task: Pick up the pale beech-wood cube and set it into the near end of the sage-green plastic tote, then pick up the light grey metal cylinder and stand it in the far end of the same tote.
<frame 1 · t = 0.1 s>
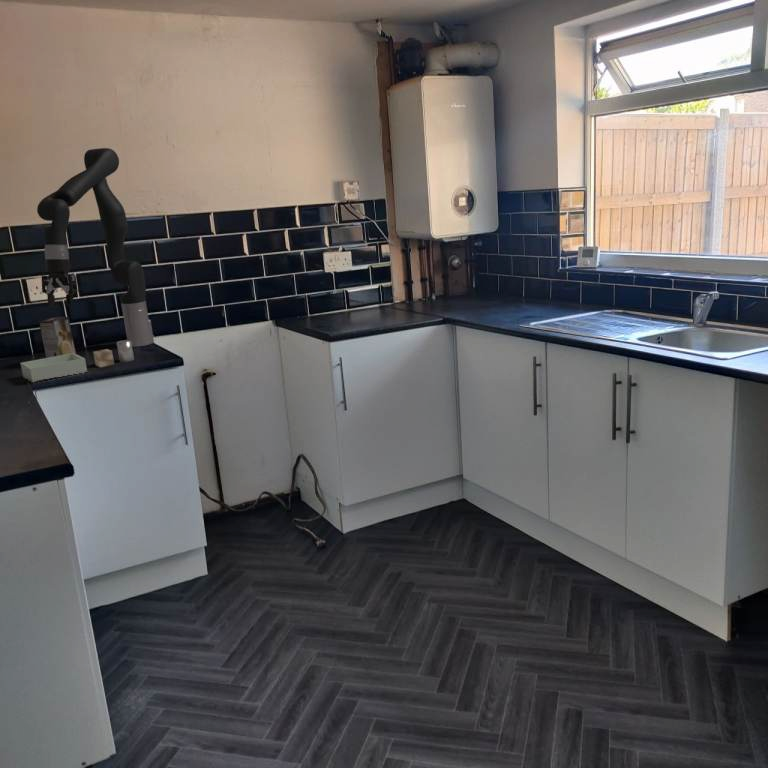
hand: (60, 305, 253), 22 cm above the countertop, tool pointing down, fingers open, 8 cm apart
grey metal cylinder: (126, 360, 264), on the countertop
beech cube: (104, 364, 260), on the countertop
tote: (55, 374, 250), on the countertop
coffee box: (62, 361, 270), on the countertop
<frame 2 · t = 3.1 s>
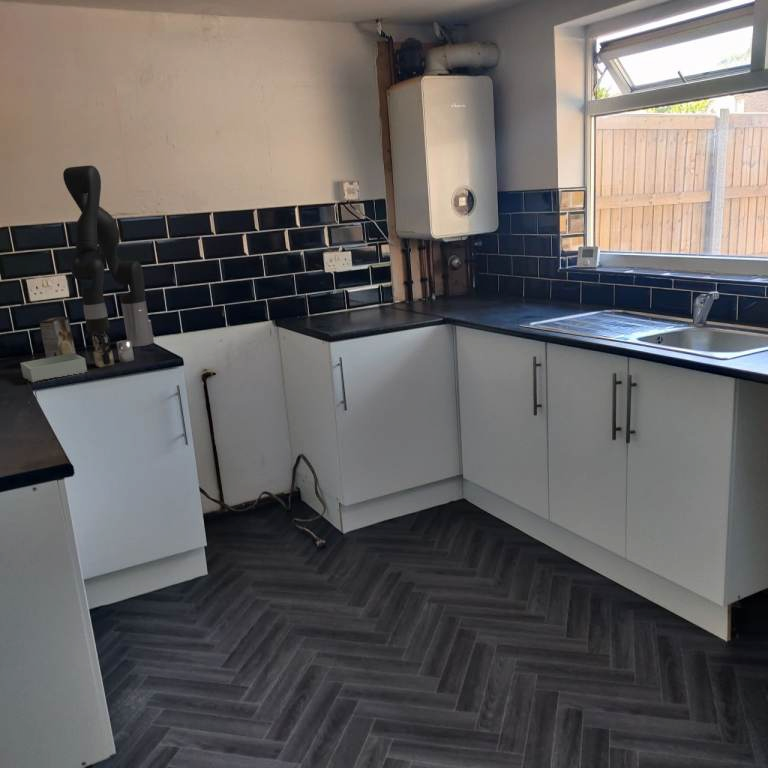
hand: (104, 362, 259), 1 cm above the countertop, tool pointing down, fingers closed on beech cube, 5 cm apart
beech cube: (105, 364, 260), on the countertop, touching gripper
everything else where it was.
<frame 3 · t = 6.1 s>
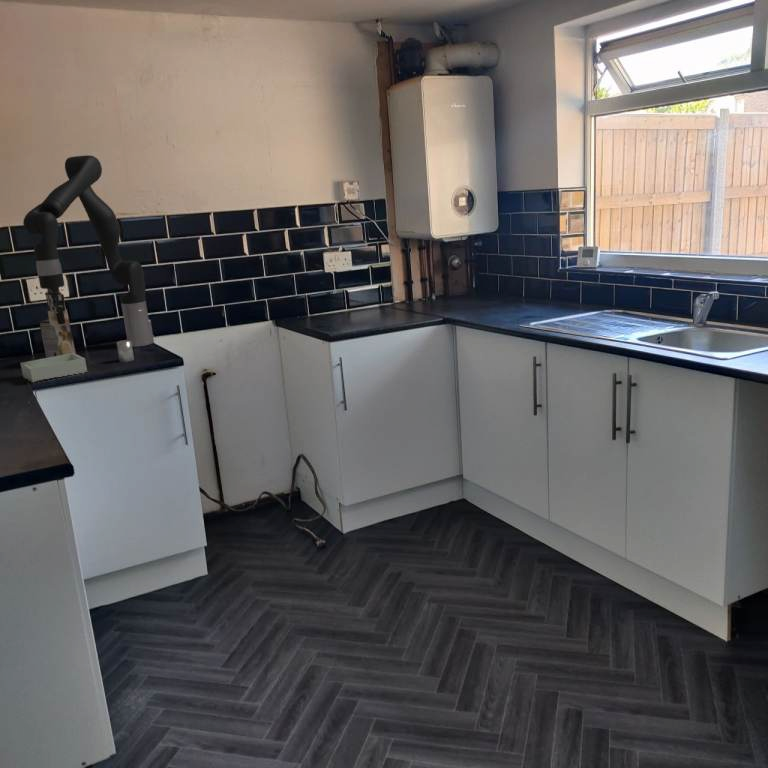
hand: (59, 322, 248), 17 cm above the countertop, tool pointing down, fingers closed on beech cube, 5 cm apart
beech cube: (59, 324, 248), point 17 cm above the countertop, touching gripper
everything else where it was.
when the fingers open (4 cm above the countertop, at t = 9.0 s): beech cube drops 2 cm, resting on tote.
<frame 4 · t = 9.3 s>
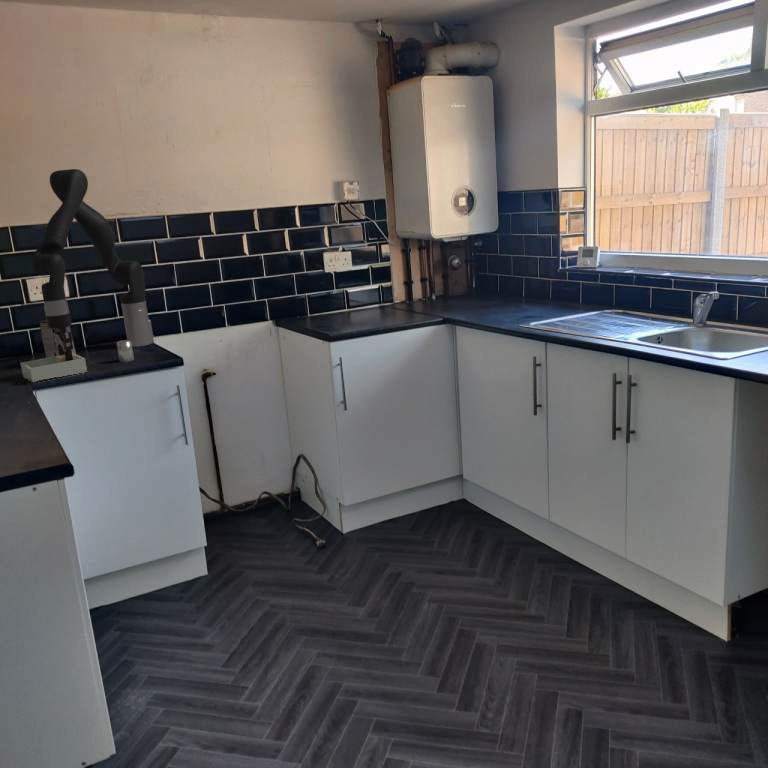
hand: (66, 359, 251), 4 cm above the countertop, tool pointing down, fingers open, 7 cm apart
beech cube: (68, 369, 252), point 1 cm above the countertop, touching tote
everything else where it was.
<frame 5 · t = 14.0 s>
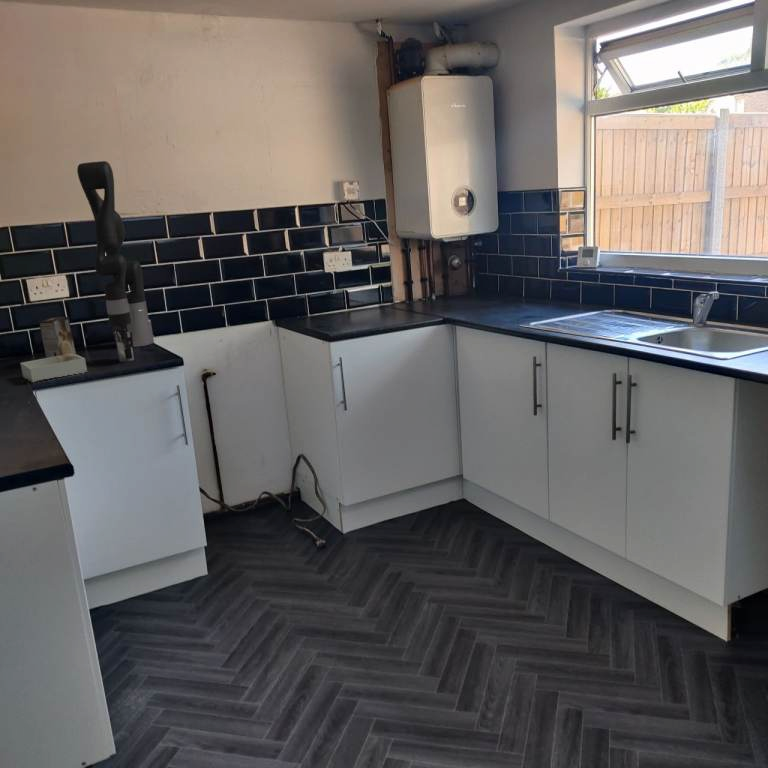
hand: (126, 357, 264), 1 cm above the countertop, tool pointing down, fingers closed on grey metal cylinder, 5 cm apart
grey metal cylinder: (126, 360, 264), on the countertop, touching gripper
everything else where it was.
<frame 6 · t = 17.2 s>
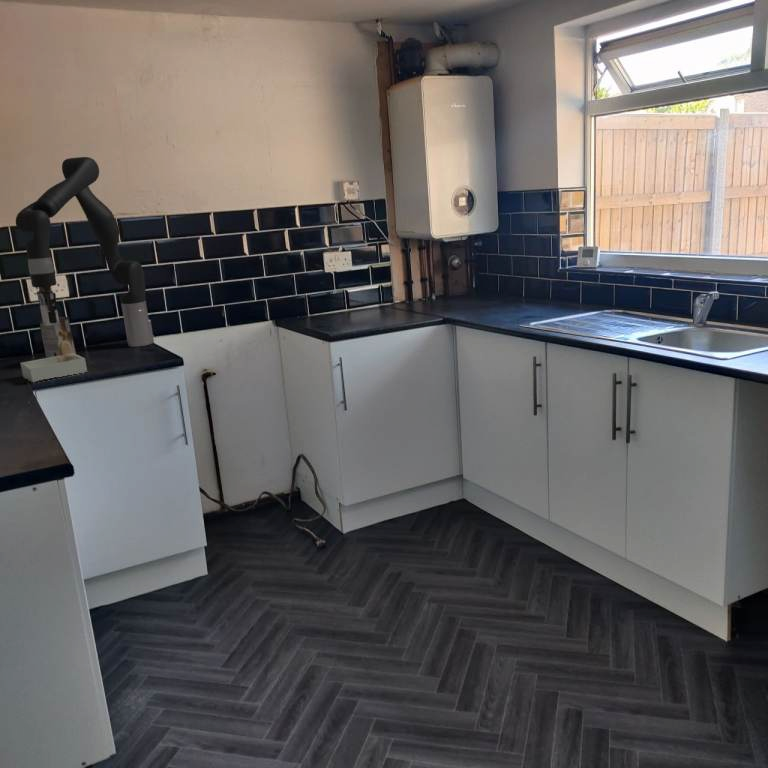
hand: (51, 322, 245), 18 cm above the countertop, tool pointing down, fingers closed on grey metal cylinder, 5 cm apart
grey metal cylinder: (51, 325, 246), point 17 cm above the countertop, touching gripper
everything else where it was.
when the fingers open (4 cm above the countertop, at t = 20.7 s): grey metal cylinder drops 2 cm, resting on tote.
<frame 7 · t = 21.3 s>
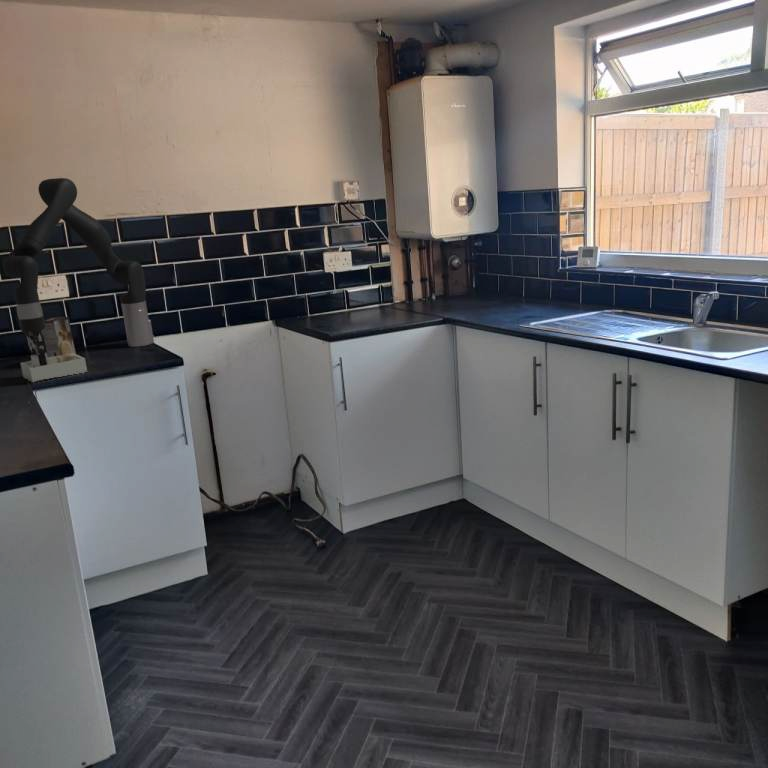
hand: (40, 363, 246), 5 cm above the countertop, tool pointing down, fingers open, 8 cm apart
grey metal cylinder: (42, 374, 247), point 1 cm above the countertop, touching tote
everything else where it was.
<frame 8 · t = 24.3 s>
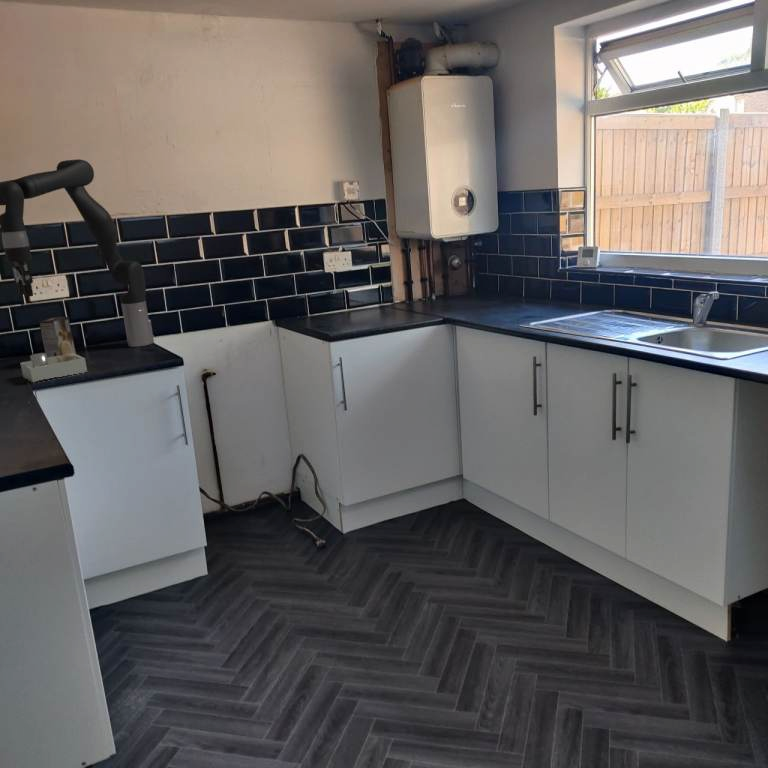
hand: (26, 295, 240), 28 cm above the countertop, tool pointing down, fingers open, 8 cm apart
nothing on the countertop moved.
at the end: beech cube inside the target area on the tote (4.5 cm from its centre), point 0.8 cm above the tote's base; grey metal cylinder inside the target area on the tote (3.9 cm from its centre), point 0.9 cm above the tote's base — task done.
